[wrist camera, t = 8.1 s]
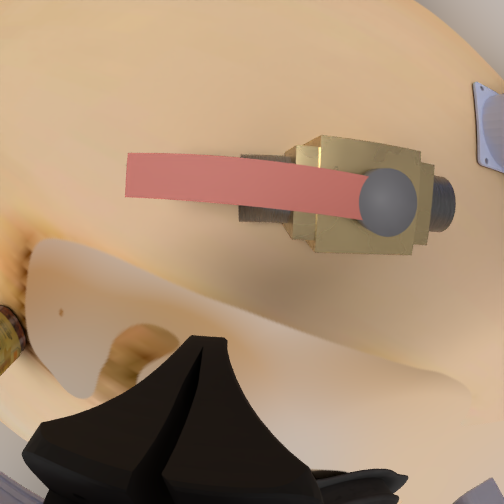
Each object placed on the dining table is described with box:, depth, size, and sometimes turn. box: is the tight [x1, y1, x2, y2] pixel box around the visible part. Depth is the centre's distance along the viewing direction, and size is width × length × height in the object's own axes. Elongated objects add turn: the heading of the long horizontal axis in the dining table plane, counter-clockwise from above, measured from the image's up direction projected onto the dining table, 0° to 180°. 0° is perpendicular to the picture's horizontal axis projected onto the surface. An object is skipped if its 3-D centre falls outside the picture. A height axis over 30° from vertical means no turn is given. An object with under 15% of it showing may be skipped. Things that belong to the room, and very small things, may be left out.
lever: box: [125, 153, 417, 237], centre depth 12 cm, size 3×14×1 cm, turn 84°
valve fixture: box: [239, 135, 456, 255], centre depth 16 cm, size 14×6×6 cm, turn 88°
